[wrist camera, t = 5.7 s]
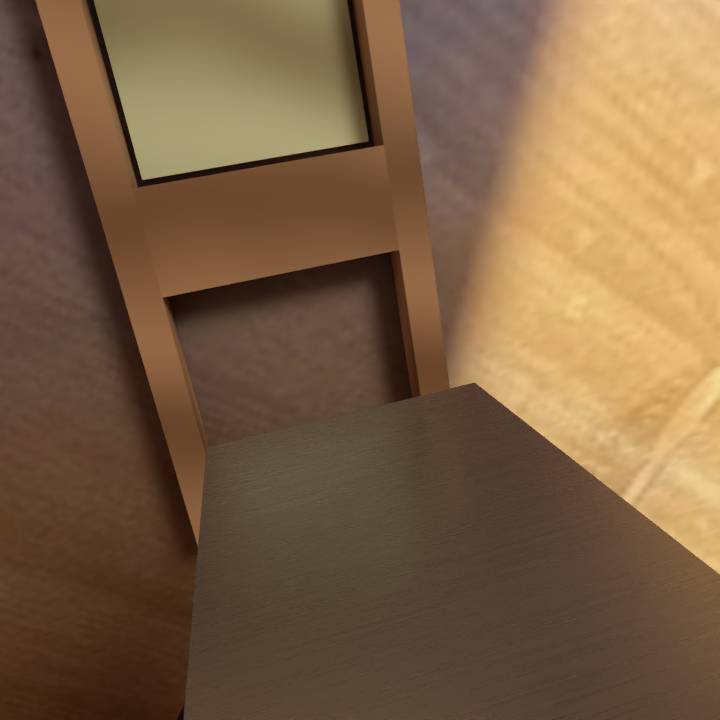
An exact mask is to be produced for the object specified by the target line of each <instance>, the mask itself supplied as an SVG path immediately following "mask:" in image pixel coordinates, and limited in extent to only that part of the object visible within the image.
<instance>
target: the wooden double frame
mask: <svg viewBox="0 0 720 720" xmlns="http://www.w3.org/2000/svg"><path fill="white" fill-rule="evenodd" d="M35 1H36V4H37V7H38V11H39V14H40V18H41V21H42V24H43V28H44V31H45V34H46V38H47V41H48V44H49V48H50V51H51V55H52V58H53V61H54V65H55V68H56V71H57V75H58V78H59V81H60V85H61V88H62V92H63V95H64V98H65V102H66V105H67V108H68V112H69V115H70V118H71V122H72V125H73V129H74V132H75V135H76V139H77V142H78V145H79V149H80V152H81V155H82V159H83V162H84V166H85V169H86V172H87V176H88V179H89V182H90V186H91V189H92V192H93V196H94V199H95V203H96V206H97V209H98V213H99V216H100V219H101V223H102V226H103V229H104V233H105V236H106V240H107V243H108V246H109V250H110V253H111V256H112V260H113V263H114V266H115V270H116V273H117V277H118V280H119V283H120V287H121V290H122V293H123V297H124V300H125V303H126V307H127V310H128V314H129V317H130V320H131V324H132V327H133V330H134V334H135V337H136V340H137V344H138V347H139V351H140V354H141V357H142V361H143V364H144V367H145V371H146V374H147V377H148V381H149V384H150V388H151V391H152V394H153V398H154V401H155V404H156V408H157V411H158V414H159V418H160V421H161V425H162V428H163V431H164V435H165V438H166V441H167V445H168V448H169V451H170V455H171V458H172V462H173V465H174V468H175V472H176V475H177V478H178V482H179V485H180V488H181V492H182V495H183V499H184V502H185V505H186V509H187V512H188V515H189V519H190V522H191V525H192V529H193V532H194V536H195V539H196V542H197V546H198V542H199V530H200V518H201V506H202V494H203V482H204V470H205V458H206V448H207V447H209V444H208V441H207V437H206V434H205V430H204V426H203V423H202V419H201V415H200V412H199V408H198V404H197V401H196V397H195V393H194V390H193V386H192V382H191V379H190V375H189V371H188V368H187V364H186V360H185V357H184V353H183V349H182V346H181V342H180V338H179V335H178V331H177V328H176V324H175V320H174V317H173V313H172V309H171V306H170V302H169V298H168V296H173V295H178V294H183V293H188V292H193V291H198V290H203V289H208V288H213V287H218V286H223V285H228V284H233V283H238V282H243V281H248V280H253V279H258V278H263V277H268V276H273V275H278V274H283V273H288V272H292V271H297V270H302V269H307V268H312V267H317V266H322V265H327V264H332V263H337V262H342V261H347V260H352V259H357V258H362V257H367V256H372V255H377V254H382V253H387V252H390V256H391V263H392V269H393V276H394V282H395V289H396V295H397V302H398V309H399V315H400V322H401V328H402V335H403V342H404V348H405V355H406V361H407V368H408V374H409V381H410V388H411V394H412V398H414V397H418V396H422V395H426V394H430V393H434V392H438V391H443V390H447V389H450V387H449V379H448V372H447V364H446V356H445V349H444V341H443V333H442V326H441V318H440V310H439V303H438V295H437V287H436V280H435V272H434V264H433V257H432V249H431V241H430V234H429V226H428V218H427V211H426V203H425V195H424V187H423V180H422V172H421V164H420V157H419V149H418V141H417V134H416V126H415V118H414V111H413V103H412V95H411V88H410V80H409V72H408V65H407V57H406V49H405V42H404V34H403V26H402V19H401V11H400V3H399V0H352V6H353V13H354V19H355V26H356V32H357V39H358V46H359V52H360V59H361V65H362V72H363V79H364V85H365V92H366V98H367V105H368V111H369V118H370V125H371V131H372V138H373V144H374V147H369V148H363V149H358V150H352V151H346V152H340V153H335V154H329V155H323V156H317V157H311V158H306V159H300V160H294V161H288V162H282V163H277V164H271V165H265V166H259V167H254V168H248V169H242V170H236V171H230V172H225V173H219V174H213V175H207V176H201V177H196V178H190V179H184V180H178V181H172V182H167V183H161V184H155V185H149V186H144V187H138V185H137V181H136V178H135V174H134V170H133V167H132V163H131V159H130V156H129V152H128V148H127V145H126V141H125V137H124V134H123V130H122V127H121V123H120V119H119V116H118V112H117V108H116V105H115V101H114V97H113V94H112V90H111V86H110V83H109V79H108V75H107V72H106V68H105V64H104V61H103V57H102V53H101V50H100V46H99V42H98V39H97V35H96V31H95V28H94V24H93V21H92V17H91V13H90V10H89V6H88V2H87V0H35ZM94 4H95V7H96V11H97V15H98V18H99V22H100V26H101V29H102V33H103V37H104V41H105V44H106V48H107V52H108V55H109V59H110V63H111V66H112V70H113V74H114V77H115V81H116V85H117V89H118V92H119V96H120V100H121V103H122V107H123V111H124V114H125V118H126V122H127V126H128V129H129V133H130V137H131V140H132V144H133V148H134V151H135V155H136V159H137V162H138V166H139V170H140V174H141V177H142V180H148V179H153V178H159V177H165V176H171V175H177V174H183V173H189V172H194V171H200V170H206V169H212V168H218V167H224V166H229V165H235V164H241V163H247V162H253V161H259V160H264V159H270V158H276V157H282V156H288V155H294V154H300V153H305V152H311V151H317V150H323V149H329V148H335V147H340V146H346V145H352V144H358V143H364V142H368V141H369V139H368V133H367V126H366V120H365V113H364V107H363V100H362V94H361V87H360V81H359V74H358V68H357V61H356V55H355V48H354V42H353V35H352V29H351V22H350V16H349V9H348V3H347V0H94Z"/></svg>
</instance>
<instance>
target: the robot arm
mask: <svg viewBox="0 0 720 720" xmlns="http://www.w3.org/2000/svg"><path fill="white" fill-rule="evenodd" d="M184 708H185V705H184V707H183V709H182V711H181V713H180V714H179V716H178V718H177V720H184Z"/></svg>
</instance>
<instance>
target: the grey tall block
mask: <svg viewBox="0 0 720 720" xmlns="http://www.w3.org/2000/svg"><path fill="white" fill-rule="evenodd" d="M184 720H720V575H719V574H718V573H717V572H716V571H714V570H713V569H712V568H710V567H709V566H708V565H707V564H705V563H704V562H703V561H702V560H700V559H699V558H698V557H696V556H695V555H694V554H693V553H691V552H690V551H689V550H688V549H686V548H685V547H684V546H682V545H681V544H680V543H679V542H677V541H676V540H675V539H673V538H672V537H671V536H670V535H668V534H667V533H666V532H665V531H663V530H662V529H661V528H659V527H658V526H657V525H656V524H654V523H653V522H652V521H650V520H649V519H648V518H647V517H645V516H644V515H643V514H642V513H640V512H639V511H638V510H636V509H635V508H634V507H633V506H631V505H630V504H629V503H628V502H626V501H625V500H624V499H622V498H621V497H620V496H619V495H617V494H616V493H615V492H613V491H612V490H611V489H610V488H608V487H607V486H606V485H605V484H603V483H602V482H601V481H599V480H598V479H597V478H596V477H594V476H593V475H592V474H591V473H589V472H588V471H587V470H585V469H584V468H583V467H582V466H580V465H579V464H578V463H576V462H575V461H574V460H573V459H571V458H570V457H569V456H568V455H566V454H565V453H564V452H562V451H561V450H560V449H559V448H557V447H556V446H555V445H553V444H552V443H551V442H550V441H548V440H547V439H546V438H545V437H543V436H542V435H541V434H539V433H538V432H537V431H536V430H534V429H533V428H532V427H531V426H529V425H528V424H527V423H525V422H524V421H523V420H522V419H520V418H519V417H518V416H516V415H515V414H514V413H513V412H511V411H510V410H509V409H508V408H506V407H505V406H504V405H502V404H501V403H500V402H499V401H497V400H496V399H495V398H493V397H492V396H491V395H490V394H488V393H487V392H486V391H485V390H483V389H482V388H481V387H479V386H478V385H477V384H476V383H472V384H467V385H463V386H459V387H455V388H451V389H447V390H443V391H438V392H434V393H430V394H426V395H422V396H418V397H414V398H409V399H405V400H401V401H397V402H393V403H389V404H385V405H380V406H376V407H372V408H368V409H364V410H360V411H356V412H352V413H347V414H343V415H339V416H335V417H331V418H327V419H323V420H318V421H314V422H310V423H306V424H302V425H298V426H294V427H289V428H285V429H281V430H277V431H273V432H269V433H265V434H260V435H256V436H252V437H248V438H244V439H240V440H236V441H232V442H227V443H223V444H219V445H215V446H211V447H207V448H206V458H205V470H204V482H203V494H202V506H201V518H200V530H199V542H198V554H197V565H196V577H195V589H194V601H193V613H192V625H191V637H190V649H189V661H188V673H187V685H186V696H185V708H184Z"/></svg>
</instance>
